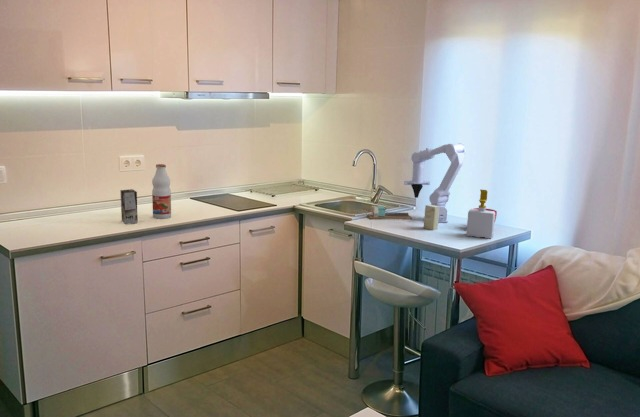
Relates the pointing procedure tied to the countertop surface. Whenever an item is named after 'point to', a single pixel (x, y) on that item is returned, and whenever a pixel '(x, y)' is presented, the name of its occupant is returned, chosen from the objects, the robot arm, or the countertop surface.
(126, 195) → the coffee box
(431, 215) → the skincare box
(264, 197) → the countertop surface
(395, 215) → the rail board
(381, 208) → the keeper
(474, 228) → the soap bottle
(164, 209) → the fruit juice
